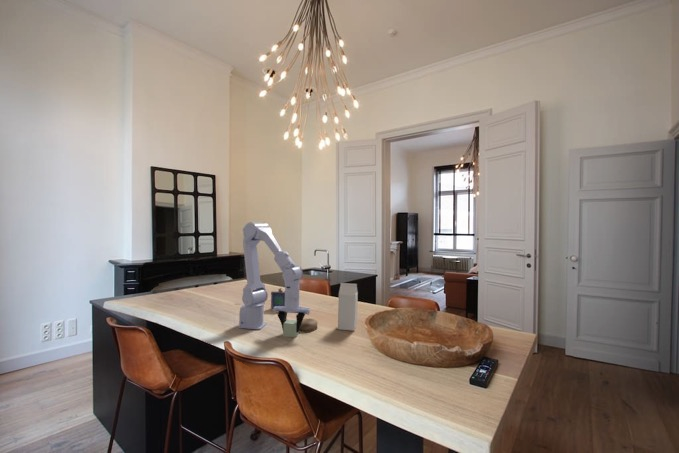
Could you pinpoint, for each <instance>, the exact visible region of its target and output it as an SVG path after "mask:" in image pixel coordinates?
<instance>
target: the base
mask: <svg viewBox="0 0 679 453" xmlns="http://www.w3.org/2000/svg"><path fill="white" fill-rule="evenodd" d="M316 330H318V321H317V320H316V319H314V318H303V320H302V323H301V326H300V331H299V332H314V331H316Z"/></svg>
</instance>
